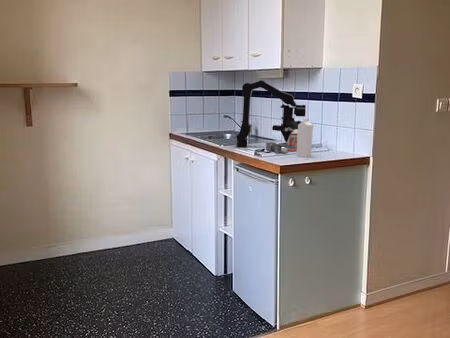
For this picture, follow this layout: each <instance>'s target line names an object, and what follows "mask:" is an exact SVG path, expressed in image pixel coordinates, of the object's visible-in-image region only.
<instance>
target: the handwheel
mask: <svg viewBox="0 0 450 338" xmlns="http://www.w3.org/2000/svg"><path fill="white" fill-rule="evenodd" d="M291 152H292V153H297V147H296V146H295V147H294V146H292V137H290V140H289V145H288V153H291Z"/></svg>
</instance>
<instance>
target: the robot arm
mask: <svg viewBox="0 0 450 338" xmlns="http://www.w3.org/2000/svg"><path fill="white" fill-rule="evenodd" d="M241 88H242V89H241V90H242V97H243V105H242V108H243V109H242V122H241V126H240V130H239V133H238V134H237V135H236V136H235V137H236V147H237V148H247V147H248V139H247V137H248V136H250V134H251V132H252V126H253V124H250V115H251V114H250V111H251V98H252V94H253V90H255V89H258V88H261V89H263V90H265V91H267V92H269V93H271V94H272V95H274V96H275V97H277V98H278V99H279V100H281V101H282V102H283V103H282V105H280V109H282V116H281V119H282V123H281V124H280V125H279V124H274V125H273V126H272V131H275V132H280V134H281V135H282V137H283V140H284V143H286V142H287V141H288V139H289V136H290V134H291V133H292V132H294V131H293V130H297V131H298V124H300V123H302V121H301V120H297V121H295V117H302V118H304V117H306V104H297V103H296V102H295V97H294V96H293V94H291V93H288V92H284V91H282V90H280V89H278V88H277V87H274V86H273V85H271V84H269V83H267V82H266V81H265V80H262V79H261V80H258V81H255V82H252V83H251V82H245V83H243V84H242V87H241ZM293 115H295V117H293Z"/></svg>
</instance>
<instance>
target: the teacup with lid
mask: <svg viewBox="0 0 450 338" xmlns="http://www.w3.org/2000/svg"><path fill="white" fill-rule="evenodd" d="M293 131H294V132H292V133H291V134H290V136H289V139H288V141H287V142H285V143H287V144H288V146H289V140H290V137H292V147H294V146H295V147H297V136H298V130H297V129H295V130H293Z"/></svg>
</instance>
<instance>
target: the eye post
mask: <svg viewBox="0 0 450 338" xmlns="http://www.w3.org/2000/svg"><path fill="white" fill-rule="evenodd" d="M280 146H282V147H286V148H288V147H289V145H288V144H287V143H286V142H282V143H276V144H275V151H274V154H277V155H278V154H285V153H289V152H288V151H287V152H281V151H280Z"/></svg>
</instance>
